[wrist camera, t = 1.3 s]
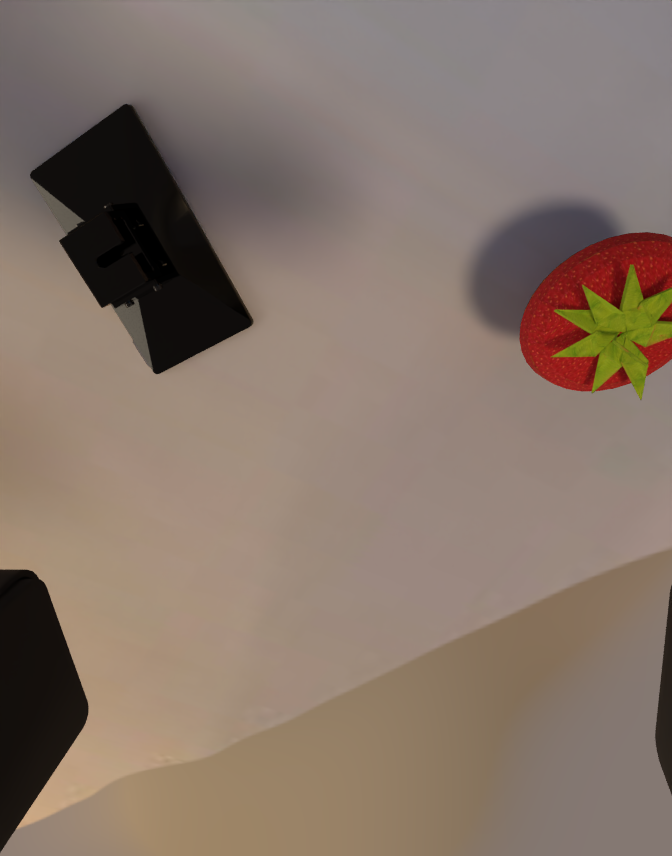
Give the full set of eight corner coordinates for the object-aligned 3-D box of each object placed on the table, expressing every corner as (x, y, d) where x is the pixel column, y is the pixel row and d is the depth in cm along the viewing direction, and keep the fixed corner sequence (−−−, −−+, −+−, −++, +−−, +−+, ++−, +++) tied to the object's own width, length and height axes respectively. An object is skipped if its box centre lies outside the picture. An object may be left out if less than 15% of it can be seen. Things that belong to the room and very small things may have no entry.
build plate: (255, 322, 33) (228, 345, 29) (155, 375, 35) (117, 403, 31) (130, 102, 30) (78, 91, 25) (28, 176, 32) (-35, 178, 28)
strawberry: (684, 296, 29) (795, 353, 20) (543, 377, 32) (583, 461, 22) (626, 191, 27) (716, 201, 18) (483, 286, 30) (501, 335, 21)
